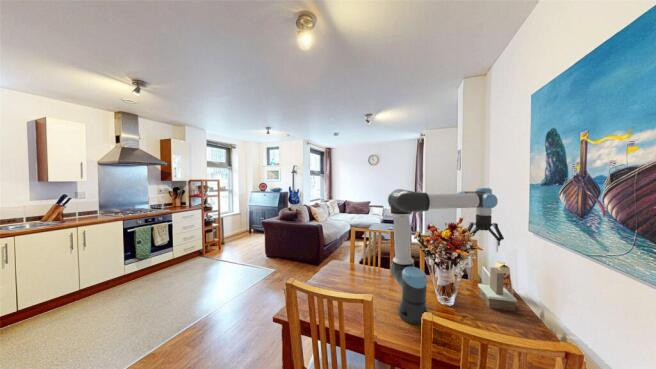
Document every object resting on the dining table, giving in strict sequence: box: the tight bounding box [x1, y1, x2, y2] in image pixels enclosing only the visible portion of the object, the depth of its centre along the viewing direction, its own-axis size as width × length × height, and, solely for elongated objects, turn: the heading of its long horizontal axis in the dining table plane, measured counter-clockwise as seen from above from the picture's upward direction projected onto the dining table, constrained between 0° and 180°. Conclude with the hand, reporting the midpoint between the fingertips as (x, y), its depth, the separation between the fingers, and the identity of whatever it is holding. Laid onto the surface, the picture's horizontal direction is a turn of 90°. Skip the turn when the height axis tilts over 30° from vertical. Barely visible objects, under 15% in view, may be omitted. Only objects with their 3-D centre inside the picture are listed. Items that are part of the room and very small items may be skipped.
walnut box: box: [478, 286, 516, 312], centre depth 129 cm, size 14×12×6 cm
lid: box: [477, 266, 518, 303], centre depth 129 cm, size 15×13×13 cm
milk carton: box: [493, 260, 514, 296], centre depth 141 cm, size 9×9×20 cm
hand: (482, 250), depth 133 cm, fingers open, 13 cm apart
